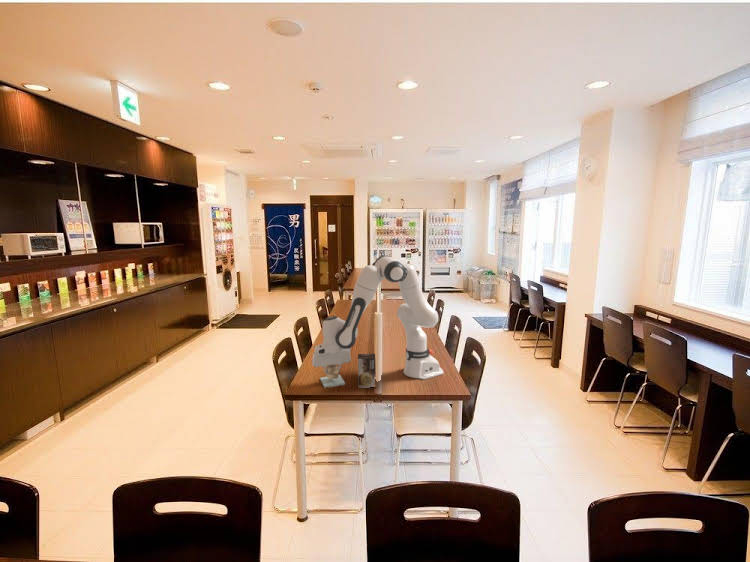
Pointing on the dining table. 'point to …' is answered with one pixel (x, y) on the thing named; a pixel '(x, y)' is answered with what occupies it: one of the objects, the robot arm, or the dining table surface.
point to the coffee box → (366, 370)
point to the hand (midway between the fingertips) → (332, 372)
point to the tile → (332, 381)
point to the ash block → (332, 371)
